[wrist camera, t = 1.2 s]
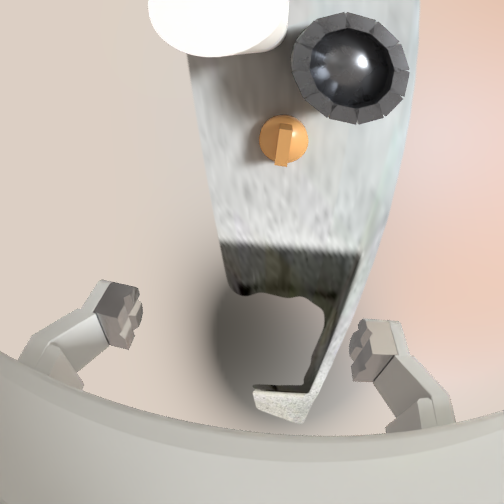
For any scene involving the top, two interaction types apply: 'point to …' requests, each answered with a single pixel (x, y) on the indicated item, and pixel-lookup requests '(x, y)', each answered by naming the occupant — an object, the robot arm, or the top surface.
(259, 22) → the cylindrical container
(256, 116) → the top surface
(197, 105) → the top surface
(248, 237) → the top surface
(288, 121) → the cap
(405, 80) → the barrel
